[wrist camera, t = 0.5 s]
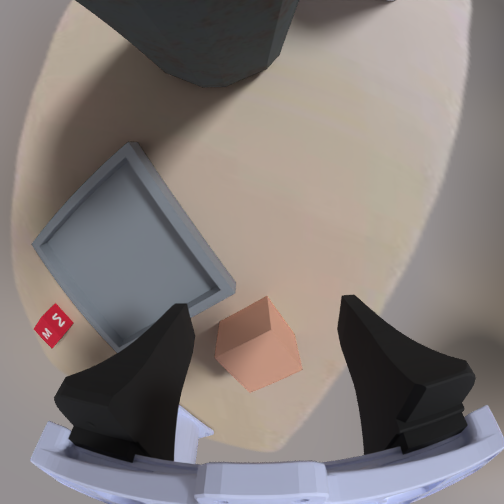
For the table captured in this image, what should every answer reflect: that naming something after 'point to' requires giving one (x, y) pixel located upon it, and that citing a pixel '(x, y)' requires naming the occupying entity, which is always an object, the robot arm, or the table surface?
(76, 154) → the table surface
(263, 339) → the wooden cube
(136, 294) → the tray
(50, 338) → the red letter cube
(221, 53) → the bottle
